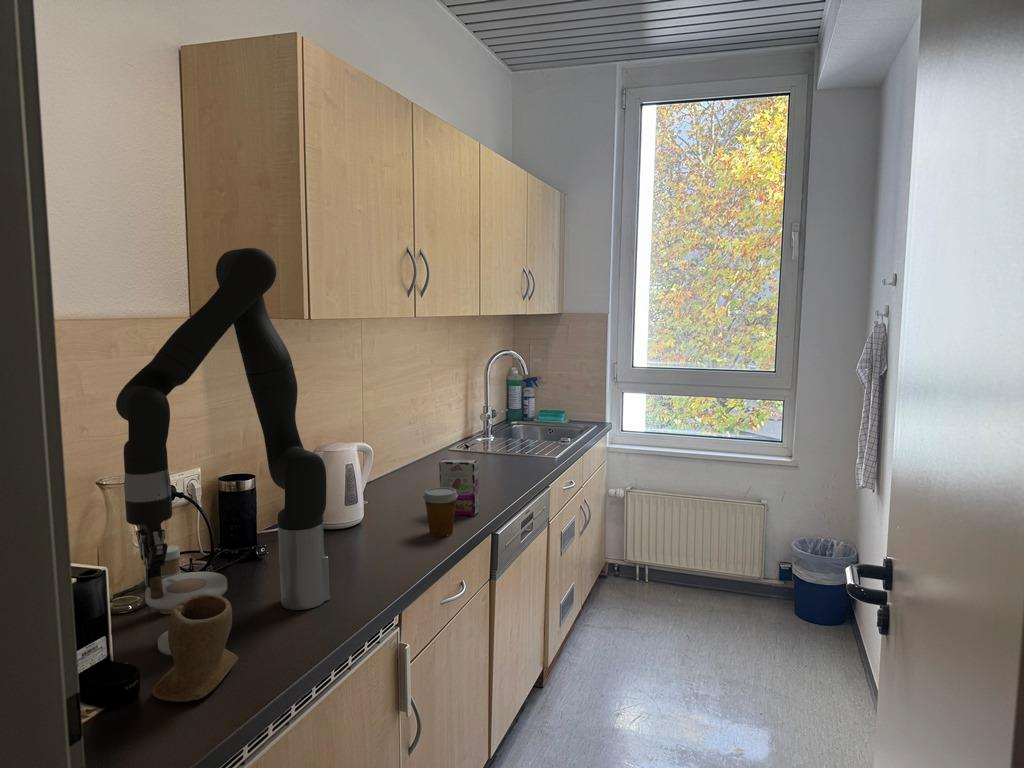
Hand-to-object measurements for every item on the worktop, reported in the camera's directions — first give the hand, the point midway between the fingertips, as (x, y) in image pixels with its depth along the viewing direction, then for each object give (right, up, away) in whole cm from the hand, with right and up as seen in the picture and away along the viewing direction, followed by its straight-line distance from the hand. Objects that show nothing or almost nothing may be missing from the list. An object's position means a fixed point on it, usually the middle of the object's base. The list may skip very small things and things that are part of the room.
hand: (154, 585), depth 130 cm
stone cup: (+14, -14, -11) cm, 22 cm away
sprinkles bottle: (-5, -10, +18) cm, 21 cm away
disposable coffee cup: (+46, -4, +66) cm, 81 cm away
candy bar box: (+50, -2, +85) cm, 98 cm away
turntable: (+5, -2, +3) cm, 6 cm away
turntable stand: (+5, -12, +4) cm, 13 cm away
